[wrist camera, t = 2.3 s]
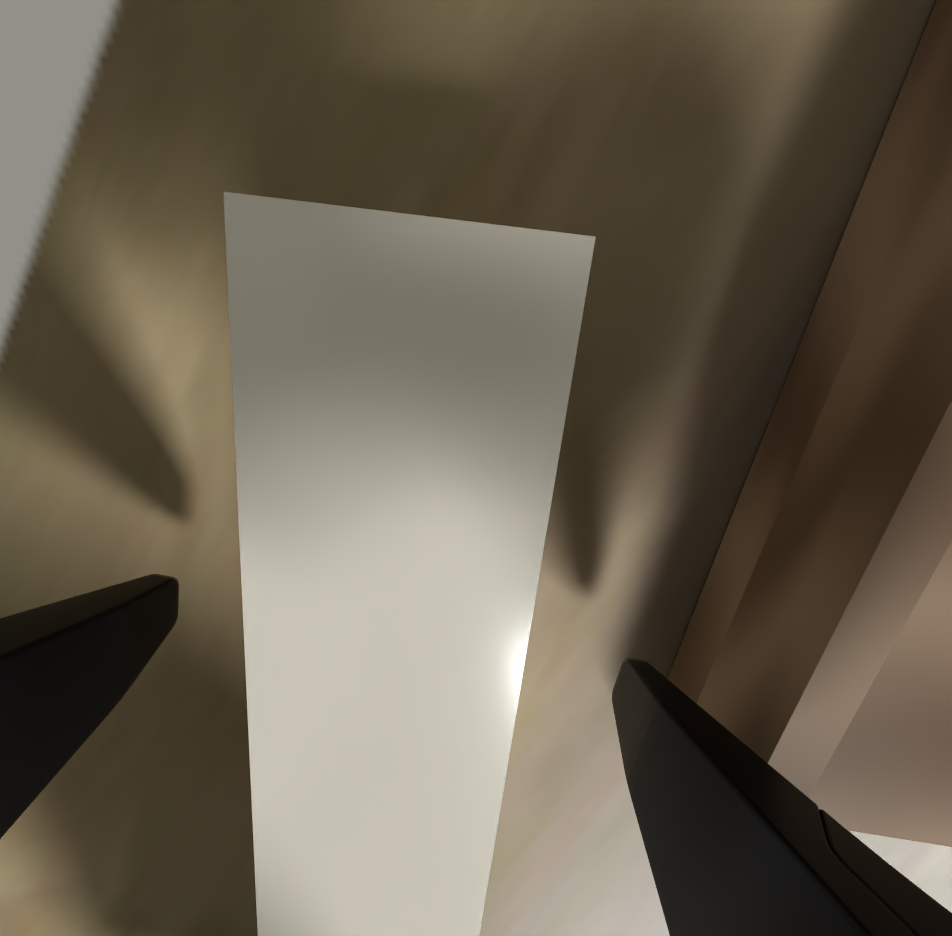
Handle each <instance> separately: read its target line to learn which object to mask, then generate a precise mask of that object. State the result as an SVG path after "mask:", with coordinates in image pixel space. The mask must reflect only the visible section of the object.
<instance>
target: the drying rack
mask: <svg viewBox="0 0 952 936" xmlns="http://www.w3.org/2000/svg"><path fill="white" fill-rule="evenodd" d="M667 679H668V680H669V681H670V682H672V683H673V684H674V685H675V686H676V687H678V688H679V689H680V690H681V691H682V692H684V693H685V694H686V695H687V696H688V697H689V698H691V699H692V700H693V701H694V702H695V703H697V704H698V705H699V706H700V707H701V708H703V709H704V710H705V711H706V712H707V713H708V714H710V715H711V716H712V717H713V718H714V719H716V720H717V721H718V722H719V723H720V724H722V725H723V726H724V727H725V728H726V729H728V730H729V731H730V732H731V733H732V734H733V735H735V736H736V737H737V738H738V739H739V740H741V741H742V742H743V743H744V744H745V745H747V746H748V747H749V748H750V749H751V750H753V751H754V752H755V753H756V754H757V755H758V756H760V757H761V758H762V759H763V760H764V761H766V762H767V763H768V764H769V765H770V766H772V767H773V768H774V769H775V770H776V771H778V772H779V773H780V774H781V775H782V776H783V777H785V778H786V779H787V780H788V781H789V782H791V783H792V784H793V785H794V786H795V787H797V788H798V789H799V790H800V791H801V792H803V793H804V794H805V795H806V796H807V797H808V798H810V799H811V800H812V801H813V802H814V803H816V804H817V806H818V808H819V809H822V810H824V811H825V812H827V813H828V814H829V815H830V816H831V817H832V818H834V819H835V820H836V821H837V822H838V823H839V824H841V825H842V826H843V827H844V828H845V829H847V830H849V831H856V832H862V833H868V834H874V835H881V836H887V837H893V838H900V839H906V840H912V841H918V842H925V843H931V844H937V845H943V846H950V847H952V0H936V3H935V5H934V8H933V10H932V13H931V15H930V18H929V20H928V23H927V25H926V28H925V30H924V33H923V35H922V38H921V40H920V43H919V45H918V48H917V50H916V53H915V56H914V58H913V61H912V63H911V66H910V68H909V71H908V73H907V76H906V78H905V81H904V83H903V86H902V88H901V91H900V93H899V96H898V98H897V101H896V103H895V106H894V108H893V111H892V113H891V116H890V119H889V121H888V124H887V126H886V129H885V131H884V134H883V136H882V139H881V141H880V144H879V146H878V149H877V151H876V154H875V156H874V159H873V161H872V164H871V166H870V169H869V171H868V174H867V176H866V179H865V182H864V184H863V187H862V189H861V192H860V194H859V197H858V199H857V202H856V204H855V207H854V209H853V212H852V214H851V217H850V219H849V222H848V224H847V227H846V229H845V232H844V234H843V237H842V239H841V242H840V245H839V247H838V250H837V252H836V255H835V257H834V260H833V262H832V265H831V267H830V270H829V272H828V275H827V277H826V280H825V282H824V285H823V287H822V290H821V292H820V295H819V297H818V300H817V302H816V305H815V308H814V310H813V313H812V315H811V318H810V320H809V323H808V325H807V328H806V330H805V333H804V335H803V338H802V340H801V343H800V345H799V348H798V350H797V353H796V355H795V358H794V360H793V363H792V365H791V368H790V371H789V373H788V376H787V378H786V381H785V383H784V386H783V388H782V391H781V393H780V396H779V398H778V401H777V403H776V406H775V408H774V411H773V413H772V416H771V418H770V421H769V423H768V426H767V428H766V431H765V434H764V436H763V439H762V441H761V444H760V446H759V449H758V451H757V454H756V456H755V459H754V461H753V464H752V466H751V469H750V471H749V474H748V476H747V479H746V481H745V484H744V486H743V489H742V491H741V494H740V497H739V499H738V502H737V504H736V507H735V509H734V512H733V514H732V517H731V519H730V522H729V524H728V527H727V529H726V532H725V534H724V537H723V539H722V542H721V544H720V547H719V549H718V552H717V554H716V557H715V560H714V562H713V565H712V567H711V570H710V572H709V575H708V577H707V580H706V582H705V585H704V587H703V590H702V592H701V595H700V597H699V600H698V602H697V605H696V607H695V610H694V612H693V615H692V617H691V620H690V623H689V625H688V628H687V630H686V633H685V635H684V638H683V640H682V643H681V645H680V648H679V650H678V653H677V655H676V658H675V660H674V663H673V665H672V668H671V670H670V673H669V675H668V678H667Z"/></svg>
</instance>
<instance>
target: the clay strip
mask: <svg viewBox="0 0 952 936" xmlns="http://www.w3.org/2000/svg"><path fill="white" fill-rule="evenodd" d="M223 193H224V214H225V236H226V258H227V279H228V301H229V323H230V344H231V366H232V388H233V409H234V431H235V453H236V474H237V496H238V518H239V539H240V561H241V583H242V604H243V626H244V648H245V669H246V691H247V713H248V734H249V756H250V778H251V800H252V821H253V843H254V865H255V886H256V908H257V930H258V936H479V934H480V928H481V922H482V916H483V910H484V904H485V898H486V892H487V886H488V880H489V874H490V868H491V862H492V856H493V850H494V844H495V838H496V832H497V826H498V820H499V814H500V808H501V802H502V796H503V790H504V784H505V778H506V772H507V766H508V760H509V754H510V748H511V742H512V736H513V730H514V724H515V718H516V712H517V706H518V700H519V694H520V688H521V682H522V676H523V670H524V664H525V658H526V652H527V646H528V640H529V634H530V628H531V622H532V616H533V610H534V604H535V598H536V592H537V586H538V580H539V574H540V568H541V562H542V556H543V550H544V544H545V538H546V532H547V526H548V520H549V514H550V508H551V502H552V496H553V490H554V484H555V478H556V472H557V466H558V460H559V454H560V448H561V442H562V436H563V430H564V424H565V418H566V412H567V406H568V400H569V394H570V388H571V382H572V376H573V370H574V364H575V358H576V352H577V346H578V340H579V334H580V328H581V322H582V316H583V310H584V304H585V298H586V292H587V286H588V280H589V274H590V268H591V262H592V256H593V250H594V244H595V238H596V237H595V236H586V235H578V234H570V233H562V232H553V231H545V230H537V229H529V228H520V227H512V226H504V225H495V224H487V223H479V222H471V221H462V220H454V219H446V218H438V217H429V216H421V215H413V214H405V213H396V212H388V211H380V210H372V209H363V208H355V207H347V206H338V205H330V204H322V203H314V202H305V201H297V200H289V199H281V198H272V197H264V196H256V195H248V194H239V193H231V192H223Z"/></svg>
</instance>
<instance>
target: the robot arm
mask: <svg viewBox="0 0 952 936" xmlns="http://www.w3.org/2000/svg"><path fill="white" fill-rule="evenodd" d="M178 597H179V584H178V580H177V579H176V578H175V577H170V576H165V575H159V574H151V575H148V576H144V577H141V578H137V579H134V580H130V581H127V582H124V583H120V584H117V585H113V586H110V587H106V588H103V589H100V590H96V591H93V592H89V593H86V594H82V595H79V596H75V597H72V598H69V599H65V600H62V601H58V602H55V603H51V604H48V605H45V606H41V607H38V608H34V609H31V610H27V611H24V612H21V613H17V614H14V615H10V616H7V617H3V618H0V839H1V837H2V836H3V835H4V834H5V833H6V832H7V830H8V829H9V828H10V827H11V826H12V825H13V824H14V822H15V821H16V820H17V819H18V818H19V817H20V816H21V814H22V813H23V812H24V811H25V810H26V809H27V807H28V806H29V805H30V804H31V803H32V802H33V801H34V799H35V798H36V797H37V796H38V795H39V794H40V792H41V791H42V790H43V789H44V788H45V787H46V786H47V784H48V783H49V782H50V781H51V780H52V779H53V777H54V776H55V775H56V774H57V773H58V772H59V771H60V769H61V768H62V767H63V766H64V765H65V764H66V762H67V761H68V760H69V759H70V758H71V757H72V756H73V754H74V753H75V752H76V751H77V750H78V749H79V747H80V746H81V745H82V744H83V743H84V742H85V741H86V739H87V738H88V737H89V736H90V735H91V734H92V732H93V731H94V730H95V729H96V728H97V727H98V726H99V724H100V723H101V722H102V721H103V720H104V719H105V717H106V716H107V715H108V714H109V713H110V712H111V710H112V709H113V708H114V707H115V706H116V704H117V703H118V702H119V701H120V700H121V698H122V697H123V696H124V694H125V693H126V692H127V691H128V689H129V688H130V687H131V685H132V684H133V682H134V681H135V680H136V678H137V677H138V675H139V674H140V673H141V671H142V670H143V668H144V667H145V666H146V664H147V663H148V661H149V660H150V659H151V657H152V656H153V655H154V653H155V652H156V650H157V649H158V648H159V646H160V645H161V643H162V642H163V641H164V639H165V638H166V636H167V635H168V634H169V632H170V631H171V629H172V628H173V626H174V625H175V623H176V620H177V617H178ZM612 703H613V709H614V714H615V720H616V725H617V731H618V736H619V742H620V748H621V753H622V759H623V764H624V770H625V774H626V779H627V784H628V787H629V791H630V795H631V799H632V802H633V806H634V809H635V813H636V817H637V820H638V824H639V827H640V831H641V834H642V838H643V841H644V845H645V849H646V852H647V856H648V859H649V863H650V866H651V870H652V873H653V877H654V881H655V884H656V888H657V891H658V895H659V898H660V902H661V905H662V909H663V913H664V916H665V920H666V923H667V927H668V930H669V934H670V936H952V913H951V912H949V911H948V910H947V909H946V908H944V907H943V906H942V905H940V904H939V903H938V902H936V901H935V900H934V899H933V898H931V897H930V896H929V895H928V894H926V893H925V892H924V891H922V890H921V889H920V888H919V887H917V886H916V885H915V884H914V883H912V882H911V881H910V880H908V879H907V878H906V877H905V876H903V875H902V874H901V873H900V872H898V871H897V870H896V869H894V868H893V867H892V866H891V865H889V864H888V863H887V862H886V861H884V860H883V859H882V858H881V857H879V856H878V855H877V854H876V853H875V852H873V851H872V850H871V849H870V848H869V847H867V846H866V845H865V844H864V843H862V842H861V841H860V840H859V839H858V838H856V837H855V836H854V835H853V834H851V833H850V832H849V831H848V830H847V829H845V828H844V827H843V826H842V825H841V824H839V823H838V822H837V821H836V820H835V819H834V818H832V817H831V816H830V815H829V814H828V813H827V812H825V811H824V810H822V809H819V808H818V806H817V804H816V803H814V802H813V801H812V800H811V799H810V798H808V797H807V796H806V795H805V794H804V793H803V792H801V791H800V790H799V789H798V788H797V787H795V786H794V785H793V784H792V783H791V782H789V781H788V780H787V779H786V778H785V777H783V776H782V775H781V774H780V773H779V772H778V771H776V770H775V769H774V768H773V767H772V766H770V765H769V764H768V763H767V762H766V761H764V760H763V759H762V758H761V757H760V756H758V755H757V754H756V753H755V752H754V751H753V750H751V749H750V748H749V747H748V746H747V745H745V744H744V743H743V742H742V741H741V740H739V739H738V738H737V737H736V736H735V735H733V734H732V733H731V732H730V731H729V730H728V729H726V728H725V727H724V726H723V725H722V724H720V723H719V722H718V721H717V720H716V719H714V718H713V717H712V716H711V715H710V714H708V713H707V712H706V711H705V710H704V709H703V708H701V707H700V706H699V705H698V704H697V703H695V702H694V701H693V700H692V699H691V698H689V697H688V696H687V695H686V694H685V693H684V692H682V691H681V690H680V689H679V688H678V687H676V686H675V685H674V684H673V683H672V682H670V681H669V680H668V679H667V678H666V677H664V676H663V675H662V674H661V673H660V672H659V671H657V670H656V669H655V668H654V667H653V666H651V665H650V664H649V663H648V662H646V661H643V660H637V659H632V658H627V659H625V660H624V662H623V664H622V666H621V669H620V672H619V674H618V677H617V680H616V683H615V686H614V688H613V693H612Z"/></svg>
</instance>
